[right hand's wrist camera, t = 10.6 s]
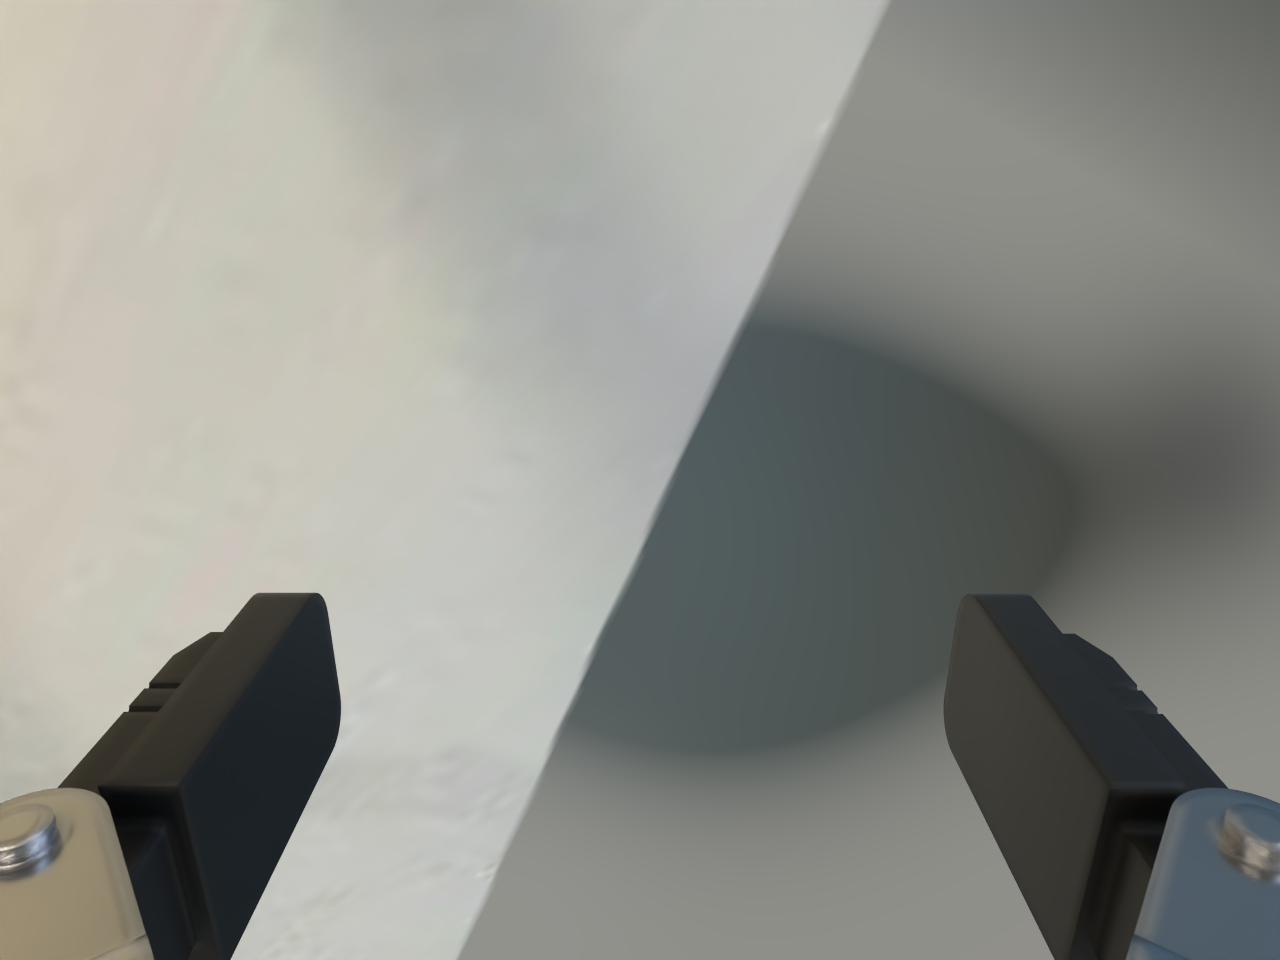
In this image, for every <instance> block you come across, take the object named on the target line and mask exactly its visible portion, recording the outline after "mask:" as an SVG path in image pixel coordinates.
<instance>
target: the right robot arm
mask: <svg viewBox="0 0 1280 960" xmlns="http://www.w3.org/2000/svg"><path fill="white" fill-rule="evenodd" d="M340 717H341V699H340V691H339V684H338V678H337V671H336V664H335V657H334V651H333V644H332V637H331V631H330V624H329V617H328V611H327V607H326V603H325V601H324V599H323V597H322V596H321V595H320V594H319V593H257V594H255V595H254V596H253V597H252V598H251V599H250V600H249V601H248V602H247V604H246V605H245V606H244V607H243V609H242V610H241V611H240V612H239V613H238V615H237V616H236V617H235V618H234V620H233V621H232V622H231V623H230V624H229V626H228V627H227V628H226V629H225V631H224V632H210V633H209V634H207V635H205V636H204V637H202V638H201V639H199V640H197V641H196V642H194V643H193V644H191V645H189V646H188V647H186V648H185V649H183V650H181V651H180V652H178V653H177V654H175V655H173V656H172V658H171V659H170V660H169V661H168V662H167V663H166V664H165V666H164V667H163V668H162V669H161V670H160V671H159V672H158V674H157V675H156V676H155V677H154V678H153V679H152V680H151V682H150V683H149V689H144V690H143V691H142V692H141V693H140V694H139V695H138V696H137V698H136V699H135V700H134V701H133V702H132V703H131V704H130V706H129V712H123V714H122V715H121V716H120V717H119V718H118V719H117V720H116V722H115V723H114V724H113V725H112V726H111V727H110V728H109V730H108V731H107V732H106V733H105V734H104V735H103V736H102V738H101V739H100V740H99V741H98V742H97V743H96V744H95V746H94V747H93V748H92V749H91V750H90V751H89V752H88V754H87V755H86V756H85V757H84V758H83V759H82V760H81V762H80V763H79V764H78V765H77V766H76V767H75V768H74V770H73V771H72V772H71V773H70V774H69V775H68V776H67V778H66V779H65V780H64V781H63V782H62V783H61V784H60V786H59V787H58V788H55V789H48V790H42V791H37V792H33V793H29V794H25V795H22V796H19V797H16V798H13V799H10V800H8V801H5V802H3V803H0V960H230V959H231V957H232V955H233V953H234V951H235V949H236V947H237V945H238V943H239V941H240V939H241V937H242V935H243V933H244V931H245V929H246V927H247V925H248V923H249V920H250V918H251V916H252V914H253V912H254V910H255V908H256V906H257V904H258V902H259V900H260V898H261V896H262V894H263V892H264V890H265V888H266V886H267V884H268V882H269V880H270V878H271V876H272V873H273V871H274V869H275V867H276V865H277V863H278V861H279V859H280V857H281V855H282V853H283V851H284V849H285V847H286V845H287V843H288V841H289V839H290V837H291V835H292V833H293V831H294V829H295V826H296V824H297V822H298V820H299V818H300V816H301V814H302V812H303V810H304V808H305V806H306V804H307V802H308V800H309V798H310V796H311V794H312V792H313V790H314V788H315V786H316V784H317V782H318V779H319V777H320V775H321V773H322V771H323V769H324V767H325V765H326V763H327V761H328V759H329V757H330V755H331V753H332V751H333V749H334V746H335V743H336V740H337V736H338V732H339V726H340ZM944 723H945V730H946V735H947V740H948V743H949V746H950V749H951V751H952V753H953V755H954V757H955V759H956V761H957V763H958V765H959V767H960V769H961V771H962V774H963V775H964V778H965V780H966V782H967V784H968V786H969V788H970V790H971V792H972V794H973V796H974V798H975V800H976V802H977V804H978V806H979V808H980V810H981V812H982V814H983V816H984V818H985V820H986V822H987V824H988V826H989V828H990V830H991V832H992V834H993V836H994V838H995V840H996V842H997V844H998V846H999V848H1000V850H1001V852H1002V854H1003V856H1004V858H1005V860H1006V862H1007V864H1008V866H1009V868H1010V870H1011V872H1012V874H1013V876H1014V879H1015V881H1016V882H1017V884H1018V887H1019V889H1020V891H1021V893H1022V895H1023V897H1024V899H1025V901H1026V903H1027V905H1028V907H1029V909H1030V911H1031V913H1032V915H1033V917H1034V919H1035V921H1036V923H1037V925H1038V927H1039V929H1040V931H1041V933H1042V935H1043V937H1044V939H1045V941H1046V943H1047V945H1048V947H1049V949H1050V951H1051V953H1052V955H1053V957H1054V959H1055V960H1280V804H1279V803H1277V802H1275V801H1272V800H1270V799H1267V798H1264V797H1261V796H1258V795H1255V794H1251V793H1247V792H1243V791H1238V790H1232V789H1228V788H1227V786H1226V785H1225V784H1224V783H1223V782H1222V781H1221V780H1220V779H1219V777H1218V776H1217V775H1216V774H1215V773H1214V772H1213V771H1212V770H1211V768H1210V767H1209V766H1208V765H1207V764H1206V763H1205V762H1204V760H1203V759H1202V758H1201V757H1200V756H1199V755H1198V754H1197V752H1196V751H1195V750H1194V749H1193V748H1192V747H1191V746H1190V745H1189V743H1188V742H1187V741H1186V740H1185V739H1184V738H1183V737H1182V735H1181V734H1180V733H1179V732H1178V731H1177V730H1176V729H1175V728H1174V726H1173V725H1172V724H1171V723H1170V722H1169V721H1168V720H1167V719H1166V717H1165V716H1164V715H1163V714H1158V712H1157V707H1156V706H1155V705H1154V704H1153V703H1152V701H1151V700H1150V699H1149V698H1148V697H1147V696H1146V695H1145V694H1144V692H1143V691H1138V690H1137V685H1136V683H1135V682H1134V681H1133V680H1132V679H1131V678H1130V677H1129V675H1128V674H1127V673H1126V672H1125V671H1124V670H1123V669H1122V668H1121V666H1120V665H1119V664H1118V663H1117V662H1116V661H1115V660H1114V658H1113V657H1111V656H1110V655H1108V654H1106V653H1105V652H1103V651H1102V650H1100V649H1098V648H1097V647H1095V646H1093V645H1092V644H1090V643H1089V642H1087V641H1085V640H1084V639H1082V638H1081V637H1079V636H1077V635H1076V634H1062V633H1061V631H1060V630H1059V629H1058V628H1057V626H1056V625H1055V624H1054V623H1053V622H1052V620H1051V619H1050V618H1049V617H1048V616H1047V614H1046V613H1045V612H1044V611H1043V610H1042V608H1041V607H1040V606H1039V605H1038V603H1037V602H1036V601H1035V600H1034V599H1033V598H1032V597H1031V596H1029V595H1025V594H968V595H965V596H964V597H963V599H962V600H961V602H960V604H959V608H958V612H957V617H956V624H955V630H954V637H953V644H952V650H951V657H950V664H949V670H948V677H947V683H946V690H945V697H944Z"/></svg>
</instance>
